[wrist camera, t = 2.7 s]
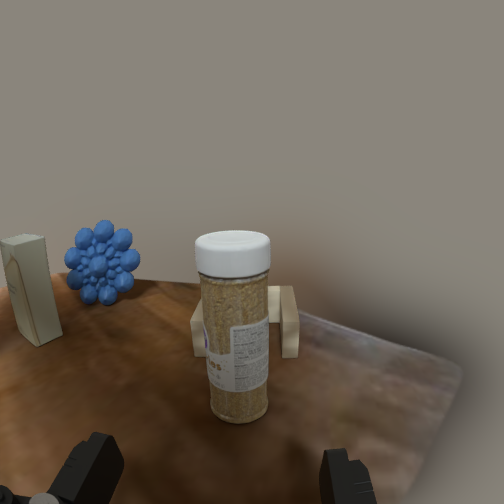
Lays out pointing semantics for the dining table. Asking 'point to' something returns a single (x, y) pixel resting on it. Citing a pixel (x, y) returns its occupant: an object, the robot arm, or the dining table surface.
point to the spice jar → (235, 321)
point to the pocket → (279, 311)
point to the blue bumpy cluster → (101, 263)
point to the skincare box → (30, 287)
